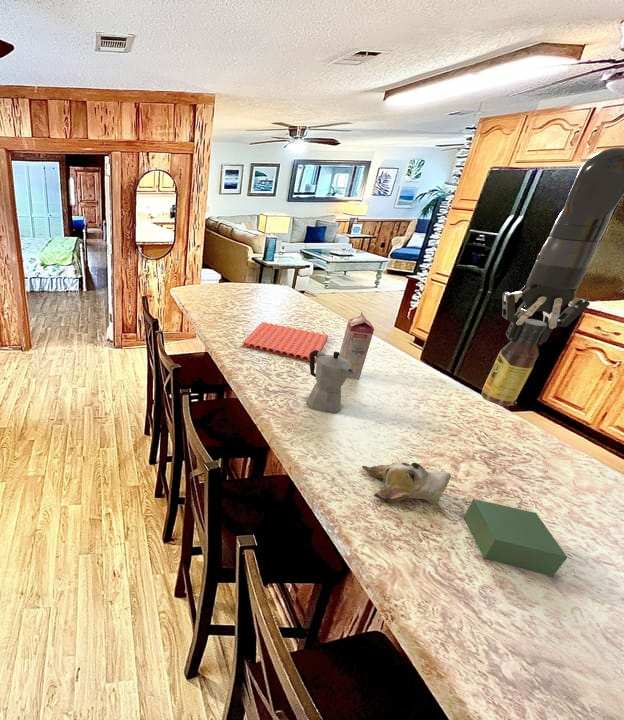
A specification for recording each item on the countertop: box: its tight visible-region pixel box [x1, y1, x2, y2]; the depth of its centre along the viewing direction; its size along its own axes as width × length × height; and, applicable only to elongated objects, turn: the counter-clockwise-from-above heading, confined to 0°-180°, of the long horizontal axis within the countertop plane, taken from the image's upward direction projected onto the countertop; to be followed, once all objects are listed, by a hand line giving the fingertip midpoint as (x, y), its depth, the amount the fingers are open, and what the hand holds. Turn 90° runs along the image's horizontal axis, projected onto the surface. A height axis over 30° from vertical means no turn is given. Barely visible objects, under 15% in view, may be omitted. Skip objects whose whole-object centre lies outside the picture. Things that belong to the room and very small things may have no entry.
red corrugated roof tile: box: [241, 321, 329, 364], centre depth 159 cm, size 28×28×2 cm
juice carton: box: [338, 311, 375, 380], centre depth 131 cm, size 7×7×22 cm
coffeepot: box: [306, 350, 355, 414], centre depth 113 cm, size 15×9×18 cm, turn 23°
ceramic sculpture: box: [361, 462, 452, 505], centre depth 83 cm, size 11×9×15 cm
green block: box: [463, 498, 568, 577], centre depth 71 cm, size 10×10×6 cm
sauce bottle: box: [480, 318, 547, 407], centre depth 87 cm, size 6×6×20 cm
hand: (524, 340), depth 84 cm, fingers closed on sauce bottle, 4 cm apart
